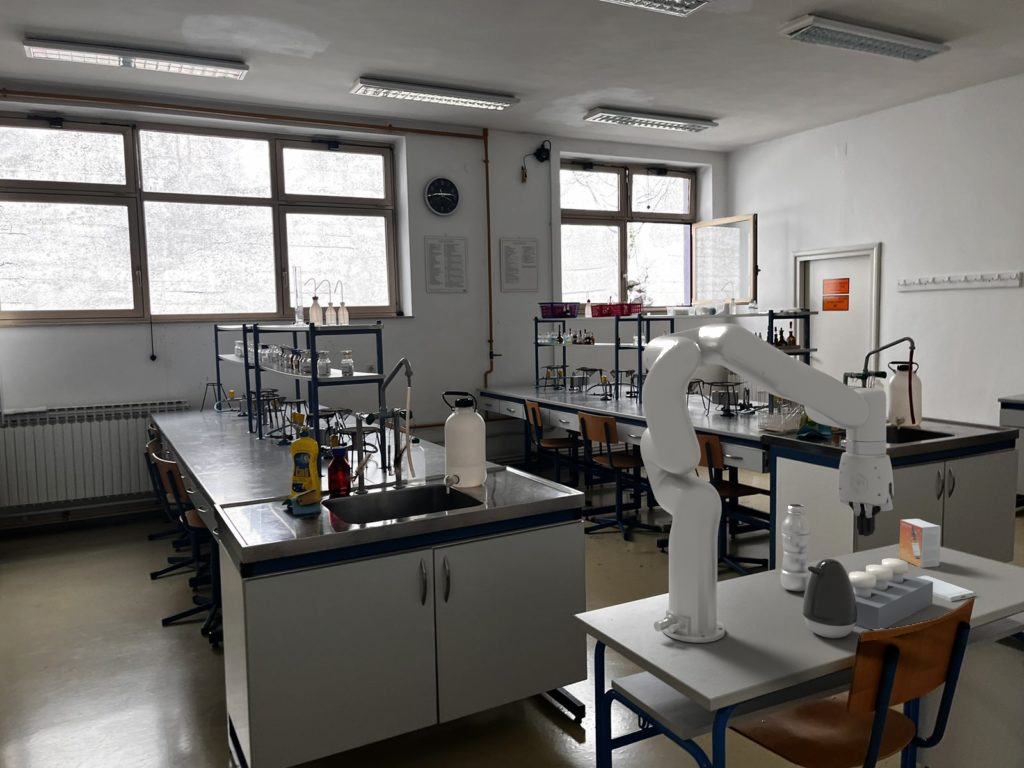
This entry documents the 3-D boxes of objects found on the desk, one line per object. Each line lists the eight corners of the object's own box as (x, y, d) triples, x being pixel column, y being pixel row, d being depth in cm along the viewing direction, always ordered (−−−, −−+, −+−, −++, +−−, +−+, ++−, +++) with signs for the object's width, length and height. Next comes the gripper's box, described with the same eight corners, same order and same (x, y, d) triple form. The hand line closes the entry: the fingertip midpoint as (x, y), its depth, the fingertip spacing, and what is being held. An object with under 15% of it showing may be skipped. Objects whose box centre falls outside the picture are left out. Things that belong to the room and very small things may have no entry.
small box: (898, 558, 198) (899, 519, 197) (917, 557, 199) (918, 517, 198) (920, 568, 190) (922, 527, 189) (940, 566, 191) (941, 525, 190)
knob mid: (884, 600, 160) (885, 574, 159) (860, 594, 164) (861, 568, 164) (896, 595, 163) (897, 568, 163) (872, 588, 167) (873, 563, 167)
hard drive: (902, 579, 179) (950, 596, 168) (927, 574, 182) (976, 591, 171) (902, 586, 179) (950, 604, 168) (927, 581, 182) (975, 598, 171)
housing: (878, 632, 152) (878, 607, 151) (822, 614, 161) (822, 591, 161) (932, 603, 166) (933, 581, 166) (878, 589, 176) (878, 568, 175)
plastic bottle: (815, 594, 173) (816, 508, 171) (785, 594, 173) (786, 509, 172) (804, 585, 179) (806, 502, 178) (776, 585, 180) (777, 502, 178)
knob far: (900, 593, 164) (901, 567, 164) (876, 586, 168) (877, 561, 168) (911, 587, 167) (912, 562, 167) (888, 581, 171) (888, 556, 171)
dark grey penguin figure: (790, 627, 155) (791, 554, 154) (831, 620, 158) (832, 549, 157) (826, 647, 145) (827, 570, 144) (868, 639, 149) (870, 563, 147)
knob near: (867, 608, 156) (868, 581, 155) (843, 601, 160) (844, 574, 159) (880, 602, 159) (881, 575, 158) (856, 596, 163) (857, 569, 162)
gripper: (822, 446, 160) (822, 530, 162) (893, 454, 149) (893, 545, 150) (841, 441, 165) (841, 524, 166) (911, 449, 153) (910, 538, 155)
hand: (865, 534), depth 158 cm, fingers closed
